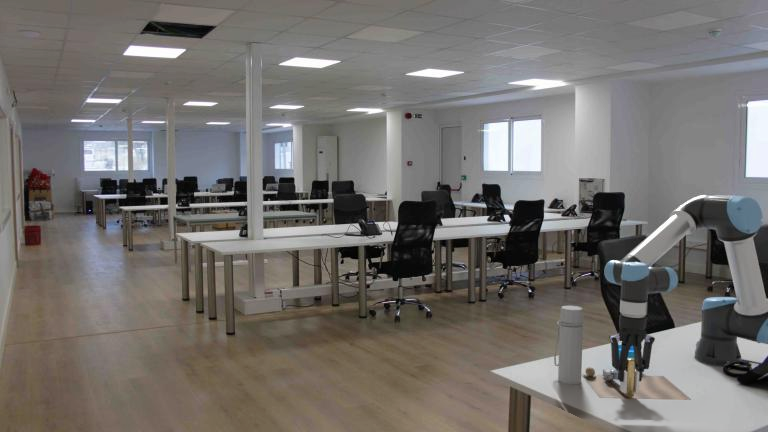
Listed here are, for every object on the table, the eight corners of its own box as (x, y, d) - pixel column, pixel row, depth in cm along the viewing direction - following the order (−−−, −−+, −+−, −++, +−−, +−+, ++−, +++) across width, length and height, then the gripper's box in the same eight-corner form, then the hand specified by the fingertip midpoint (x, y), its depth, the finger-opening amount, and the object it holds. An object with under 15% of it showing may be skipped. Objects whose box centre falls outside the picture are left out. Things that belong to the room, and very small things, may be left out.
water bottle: (585, 383, 207) (588, 307, 205) (573, 389, 202) (576, 311, 200) (560, 376, 214) (562, 303, 212) (547, 382, 208) (550, 306, 206)
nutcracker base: (663, 379, 212) (664, 366, 211) (691, 403, 191) (691, 388, 190) (581, 377, 213) (581, 364, 213) (599, 401, 192) (600, 386, 192)
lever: (600, 375, 210) (601, 342, 209) (613, 375, 210) (614, 342, 209) (623, 397, 191) (624, 360, 190) (638, 397, 191) (639, 360, 190)
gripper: (652, 311, 194) (648, 387, 196) (601, 311, 193) (598, 387, 195) (665, 317, 187) (661, 395, 189) (612, 317, 186) (608, 396, 188)
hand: (629, 391), depth 192 cm, fingers open, 3 cm apart
